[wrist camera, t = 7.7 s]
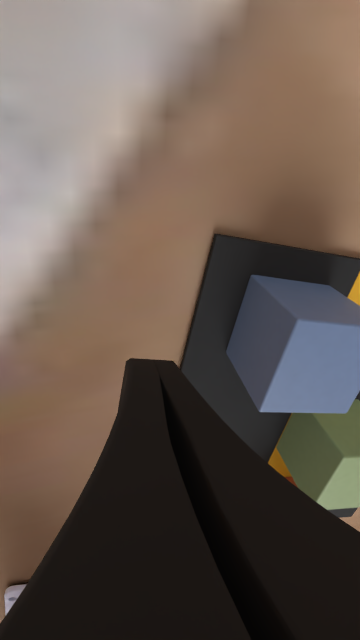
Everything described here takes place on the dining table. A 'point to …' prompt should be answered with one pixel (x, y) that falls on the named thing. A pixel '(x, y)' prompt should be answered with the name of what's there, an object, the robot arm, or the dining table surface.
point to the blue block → (297, 346)
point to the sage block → (325, 456)
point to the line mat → (219, 320)
